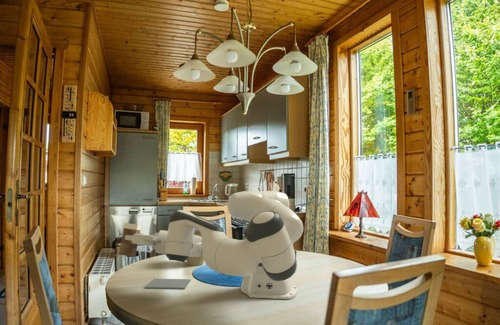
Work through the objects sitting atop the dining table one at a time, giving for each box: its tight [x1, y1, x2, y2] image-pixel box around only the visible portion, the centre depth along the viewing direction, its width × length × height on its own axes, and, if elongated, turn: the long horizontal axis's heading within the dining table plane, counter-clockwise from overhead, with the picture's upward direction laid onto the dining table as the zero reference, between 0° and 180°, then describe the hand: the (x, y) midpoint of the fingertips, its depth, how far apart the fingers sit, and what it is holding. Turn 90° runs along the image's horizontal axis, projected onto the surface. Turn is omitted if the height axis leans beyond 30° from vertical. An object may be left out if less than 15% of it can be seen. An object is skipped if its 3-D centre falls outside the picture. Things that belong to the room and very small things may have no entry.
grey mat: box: [144, 278, 191, 290], centre depth 138 cm, size 16×11×1 cm
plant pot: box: [186, 230, 205, 267], centre depth 171 cm, size 15×15×16 cm
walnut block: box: [118, 222, 142, 257], centre depth 131 cm, size 5×5×12 cm
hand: (128, 237), depth 132 cm, fingers closed on walnut block, 5 cm apart
